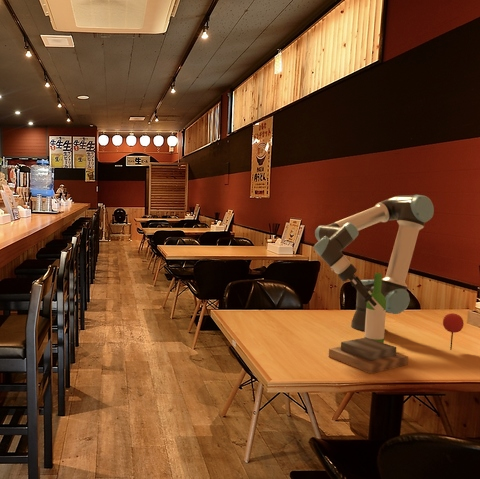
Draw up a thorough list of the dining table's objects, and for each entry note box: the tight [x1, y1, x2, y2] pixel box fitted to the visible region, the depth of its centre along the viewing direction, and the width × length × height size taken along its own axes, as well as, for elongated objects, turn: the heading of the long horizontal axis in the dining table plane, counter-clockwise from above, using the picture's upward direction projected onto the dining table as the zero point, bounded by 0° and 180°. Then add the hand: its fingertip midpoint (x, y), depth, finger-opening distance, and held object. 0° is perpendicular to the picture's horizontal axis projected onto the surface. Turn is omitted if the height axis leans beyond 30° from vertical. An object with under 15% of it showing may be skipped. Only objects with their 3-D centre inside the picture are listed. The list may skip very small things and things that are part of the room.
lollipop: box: [442, 313, 465, 351], centre depth 190 cm, size 8×8×15 cm
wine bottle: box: [363, 272, 387, 343], centre depth 191 cm, size 8×8×30 cm
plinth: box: [328, 337, 409, 374], centre depth 171 cm, size 20×20×6 cm
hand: (379, 307), depth 190 cm, fingers open, 13 cm apart
